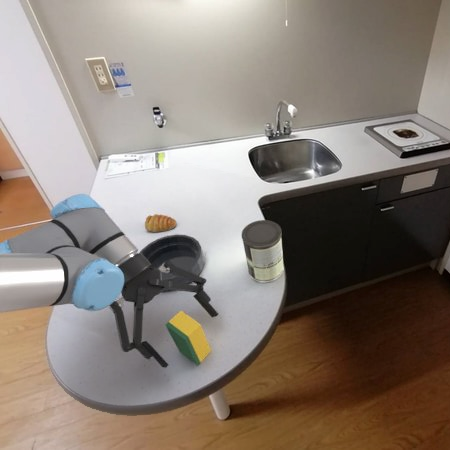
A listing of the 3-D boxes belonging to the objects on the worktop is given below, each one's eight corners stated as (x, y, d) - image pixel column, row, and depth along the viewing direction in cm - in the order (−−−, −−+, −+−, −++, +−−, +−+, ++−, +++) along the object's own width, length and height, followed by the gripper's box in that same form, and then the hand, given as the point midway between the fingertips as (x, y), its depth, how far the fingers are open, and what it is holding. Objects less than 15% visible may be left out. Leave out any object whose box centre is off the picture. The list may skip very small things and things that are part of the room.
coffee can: (240, 274, 86) (233, 237, 77) (262, 251, 93) (257, 215, 84) (270, 288, 82) (266, 251, 73) (290, 264, 89) (289, 227, 80)
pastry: (179, 219, 105) (176, 211, 103) (173, 233, 100) (170, 224, 98) (152, 220, 105) (148, 211, 103) (144, 233, 100) (140, 224, 98)
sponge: (197, 365, 66) (184, 339, 59) (179, 351, 69) (165, 324, 62) (211, 351, 69) (200, 324, 62) (193, 337, 72) (180, 310, 64)
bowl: (176, 300, 80) (171, 288, 76) (127, 280, 85) (120, 268, 82) (216, 256, 92) (213, 244, 89) (171, 240, 97) (166, 228, 94)
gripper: (169, 233, 72) (226, 300, 76) (58, 309, 57) (137, 389, 60) (177, 224, 67) (239, 296, 70) (58, 305, 51) (144, 393, 54)
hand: (192, 339), depth 65 cm, fingers open, 13 cm apart
